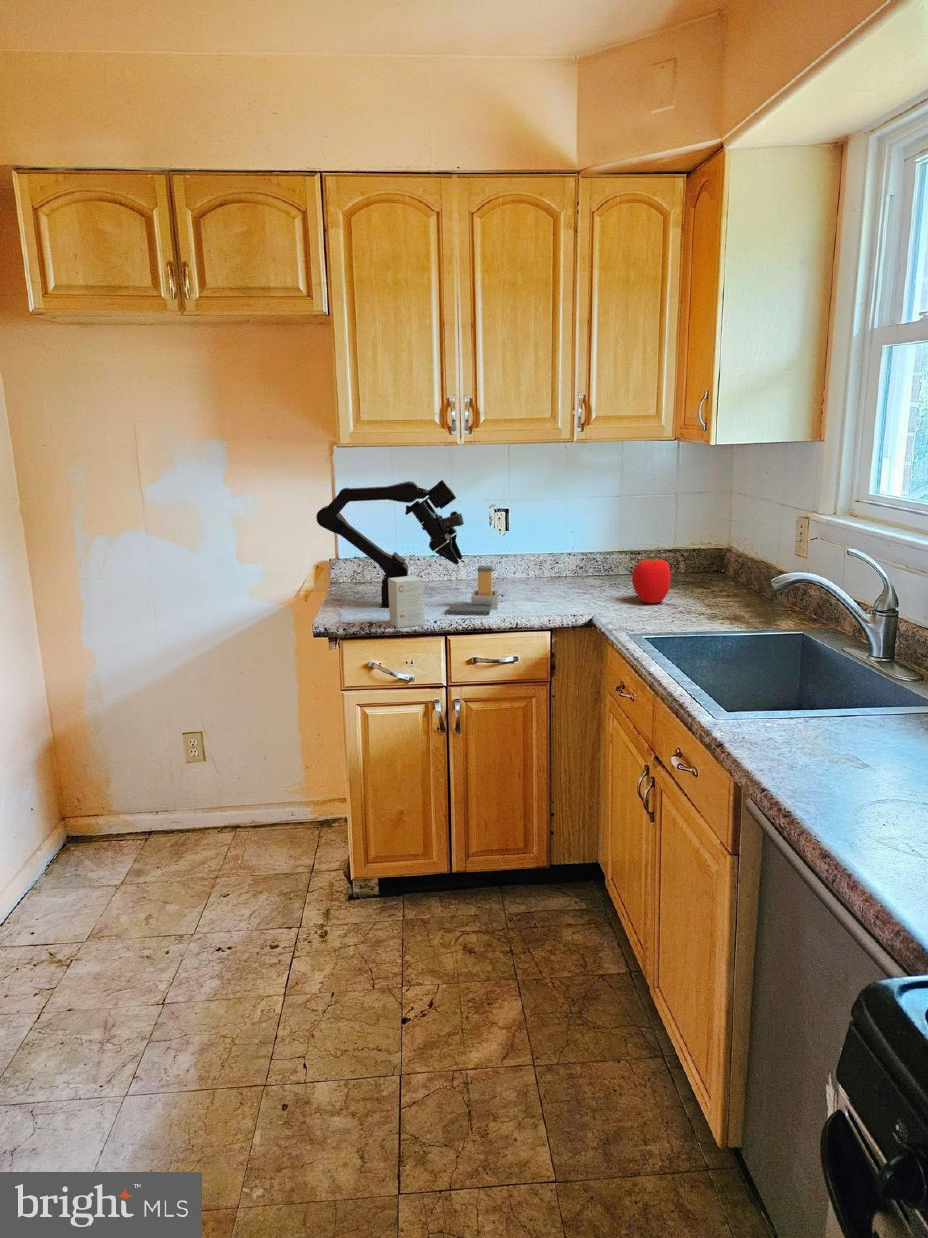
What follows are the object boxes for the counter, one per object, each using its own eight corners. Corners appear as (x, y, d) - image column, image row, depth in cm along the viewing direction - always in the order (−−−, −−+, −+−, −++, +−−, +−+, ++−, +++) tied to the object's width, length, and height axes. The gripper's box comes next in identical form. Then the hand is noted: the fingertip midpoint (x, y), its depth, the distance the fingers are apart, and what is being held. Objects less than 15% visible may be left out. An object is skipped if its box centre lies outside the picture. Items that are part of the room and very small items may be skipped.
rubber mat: (447, 614, 242) (447, 610, 242) (450, 609, 248) (450, 605, 248) (489, 615, 241) (489, 611, 241) (490, 609, 247) (490, 606, 247)
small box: (416, 620, 236) (415, 574, 233) (424, 625, 231) (423, 579, 228) (389, 623, 233) (387, 577, 230) (396, 628, 227) (395, 581, 224)
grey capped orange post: (477, 607, 250) (477, 568, 247) (478, 604, 254) (478, 565, 251) (491, 607, 250) (491, 568, 247) (492, 604, 254) (492, 565, 251)
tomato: (663, 608, 248) (666, 561, 244) (626, 604, 253) (628, 558, 249) (674, 599, 259) (676, 554, 255) (638, 596, 264) (640, 551, 260)
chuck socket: (471, 608, 249) (471, 595, 248) (473, 602, 256) (473, 590, 255) (496, 609, 248) (496, 596, 247) (498, 603, 255) (498, 590, 254)
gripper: (446, 505, 236) (478, 550, 238) (454, 499, 255) (484, 541, 256) (415, 528, 239) (447, 572, 241) (425, 520, 257) (455, 562, 259)
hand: (459, 561), depth 249 cm, fingers open, 9 cm apart
